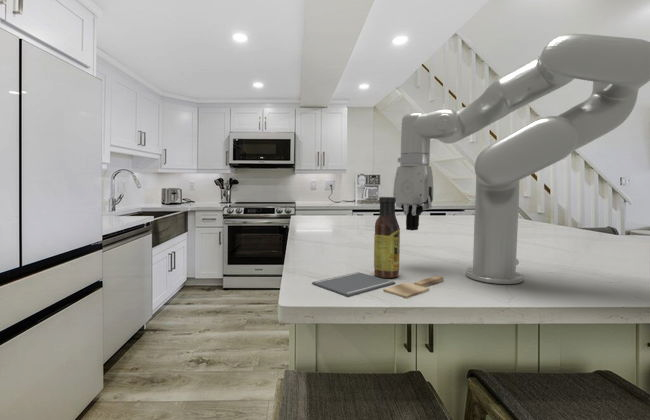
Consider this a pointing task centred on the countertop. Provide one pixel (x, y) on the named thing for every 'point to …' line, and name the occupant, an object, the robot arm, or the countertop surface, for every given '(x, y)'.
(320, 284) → the mat
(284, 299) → the countertop surface
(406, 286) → the turner
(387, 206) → the sauce bottle
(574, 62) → the robot arm
